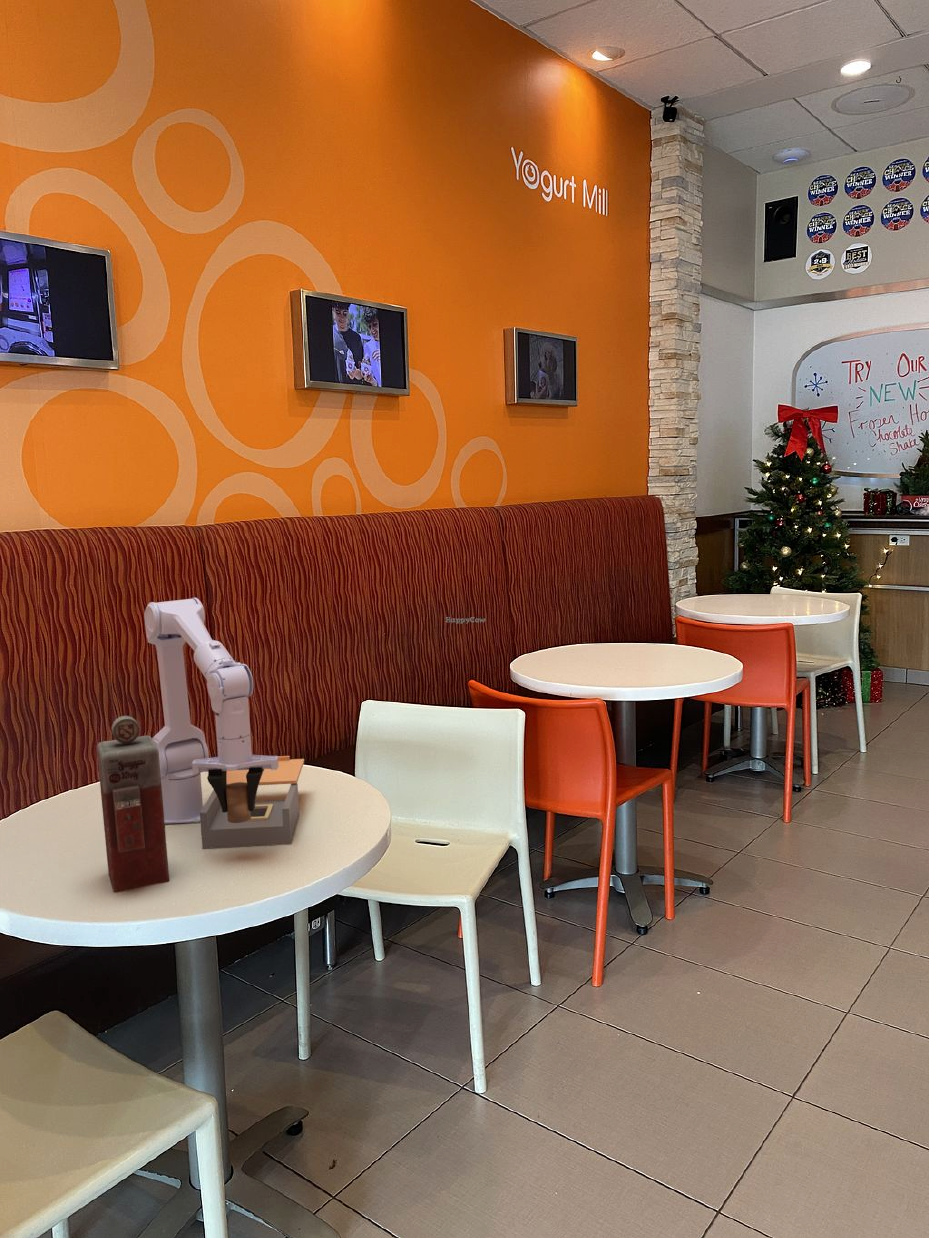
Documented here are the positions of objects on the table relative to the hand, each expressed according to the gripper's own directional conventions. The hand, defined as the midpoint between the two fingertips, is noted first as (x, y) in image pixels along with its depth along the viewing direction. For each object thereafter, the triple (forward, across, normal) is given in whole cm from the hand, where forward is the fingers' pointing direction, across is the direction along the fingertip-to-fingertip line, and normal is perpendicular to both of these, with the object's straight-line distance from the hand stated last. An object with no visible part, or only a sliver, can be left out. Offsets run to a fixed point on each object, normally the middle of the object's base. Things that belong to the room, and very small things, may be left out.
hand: (238, 809), depth 165 cm
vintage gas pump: (+9, -16, -7) cm, 20 cm away
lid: (+2, 0, +25) cm, 25 cm away
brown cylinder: (+2, 0, 0) cm, 2 cm away
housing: (+9, 0, +12) cm, 15 cm away
